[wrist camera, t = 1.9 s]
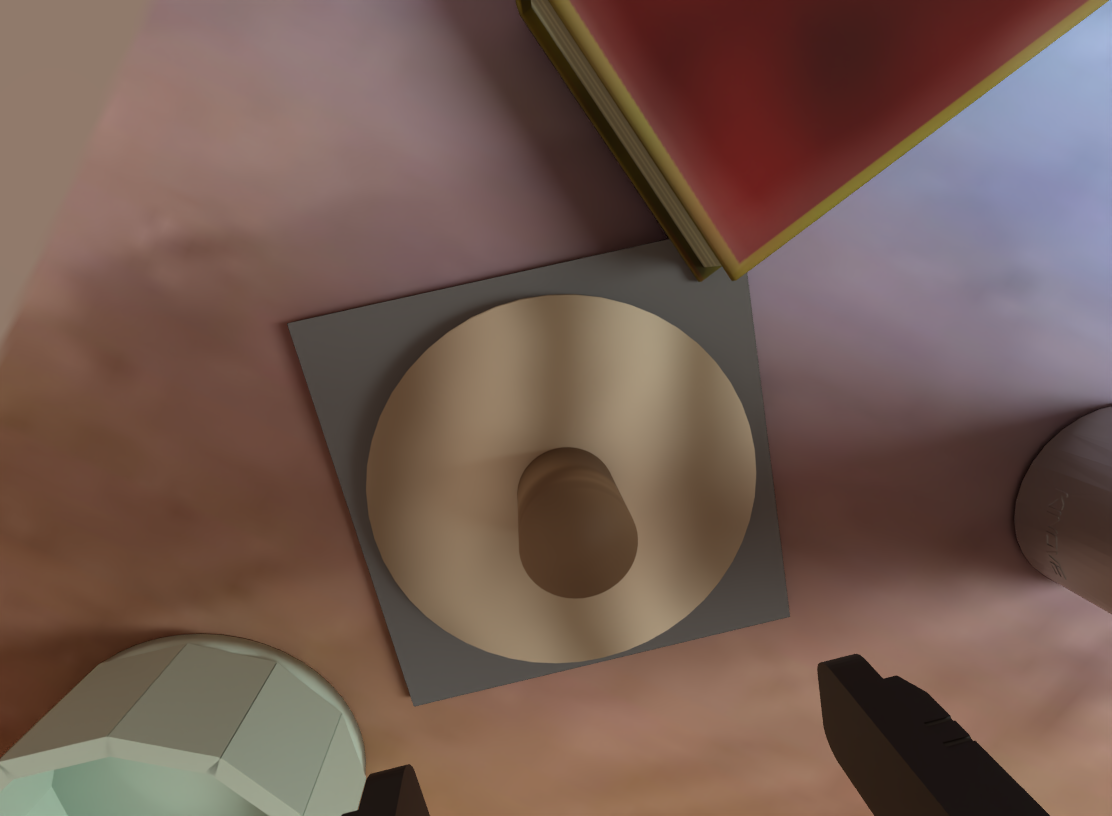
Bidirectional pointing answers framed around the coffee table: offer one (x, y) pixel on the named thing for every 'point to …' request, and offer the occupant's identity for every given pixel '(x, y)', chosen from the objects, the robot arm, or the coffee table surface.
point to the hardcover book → (777, 98)
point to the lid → (561, 478)
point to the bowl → (190, 738)
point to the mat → (421, 320)
